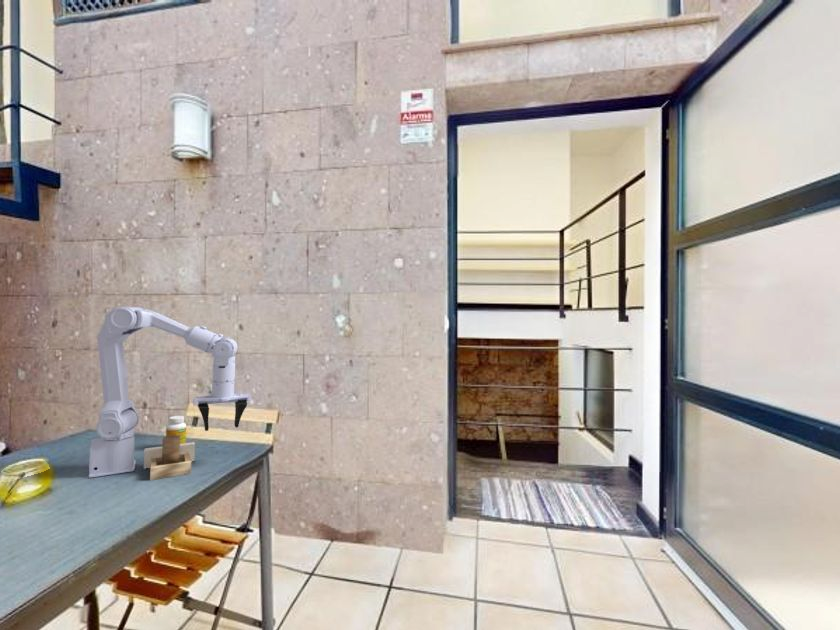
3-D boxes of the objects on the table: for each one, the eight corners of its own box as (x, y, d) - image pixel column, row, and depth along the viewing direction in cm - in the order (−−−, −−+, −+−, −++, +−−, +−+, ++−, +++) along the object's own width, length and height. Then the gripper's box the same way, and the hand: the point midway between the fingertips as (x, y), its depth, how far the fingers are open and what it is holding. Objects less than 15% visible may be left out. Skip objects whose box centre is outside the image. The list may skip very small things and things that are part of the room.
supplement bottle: (178, 451, 121) (179, 419, 121) (161, 450, 122) (162, 419, 122) (189, 445, 127) (190, 415, 127) (172, 444, 127) (173, 414, 127)
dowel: (161, 471, 104) (162, 440, 104) (161, 465, 107) (162, 436, 107) (179, 468, 106) (180, 438, 106) (178, 463, 110) (179, 434, 110)
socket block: (150, 480, 101) (150, 468, 101) (150, 468, 108) (150, 457, 108) (190, 473, 106) (191, 462, 106) (188, 462, 113) (188, 451, 113)
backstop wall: (143, 469, 107) (144, 450, 107) (143, 466, 109) (144, 448, 109) (194, 461, 114) (194, 444, 114) (193, 459, 116) (194, 442, 116)
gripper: (195, 384, 105) (193, 435, 105) (253, 381, 113) (251, 428, 113) (193, 380, 111) (191, 428, 111) (248, 377, 119) (246, 422, 119)
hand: (221, 428), depth 112 cm, fingers open, 7 cm apart
